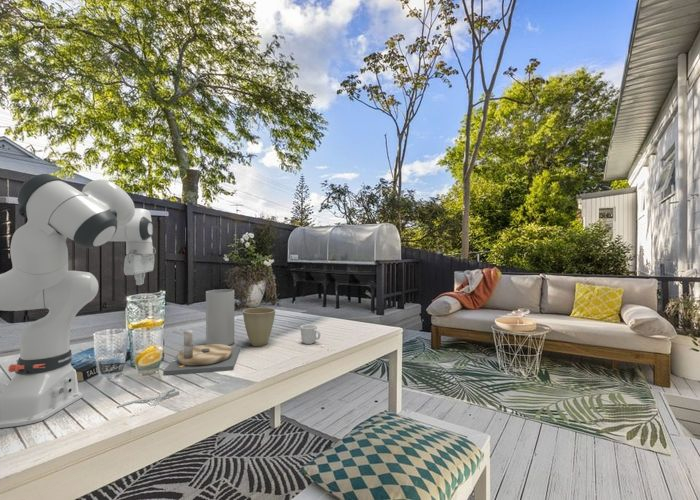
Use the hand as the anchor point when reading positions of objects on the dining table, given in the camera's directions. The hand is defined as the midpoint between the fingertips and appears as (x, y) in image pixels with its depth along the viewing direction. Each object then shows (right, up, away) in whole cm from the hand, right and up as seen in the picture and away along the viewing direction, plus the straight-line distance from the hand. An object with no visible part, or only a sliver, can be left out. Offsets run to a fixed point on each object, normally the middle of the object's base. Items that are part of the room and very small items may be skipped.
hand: (139, 284), depth 133 cm
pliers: (+24, -32, -33) cm, 52 cm away
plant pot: (+41, -31, +26) cm, 57 cm away
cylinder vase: (+22, -31, +26) cm, 46 cm away
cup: (+65, -31, +27) cm, 77 cm away
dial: (+25, -29, +2) cm, 39 cm away
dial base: (+25, -31, +2) cm, 40 cm away
